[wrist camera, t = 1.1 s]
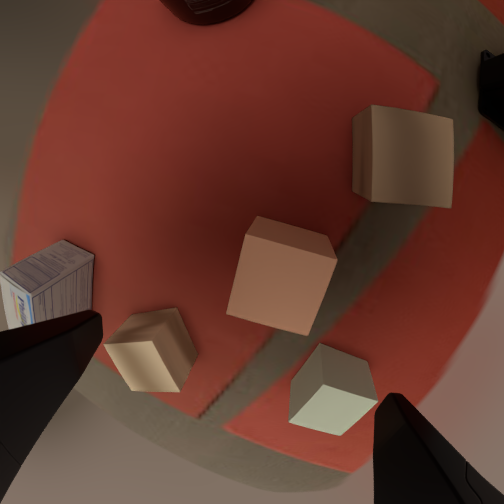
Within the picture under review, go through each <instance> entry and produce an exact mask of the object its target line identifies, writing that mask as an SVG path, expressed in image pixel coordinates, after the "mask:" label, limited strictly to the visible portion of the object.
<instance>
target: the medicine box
mask: <svg viewBox="0 0 504 504" xmlns="http://www.w3.org/2000/svg"><path fill="white" fill-rule="evenodd" d="M93 261H94V255H93V254H91V253H89V252H87V251H85V250H83V249H81V248H79V247H77V246H75V245H73V244H71V243H69V242H67V241H65V240H61V241H59V242H57V243H55V244H53V245H51V246H49V247H47V248H45V249H43V250H41V251H39V252H37V253H35V254H33V255H31V256H29V257H27V258H25V259H23V260H21V261H19V262H17V263H16V264H14V265H12V266H10V267H8V268H6V269H5V270H3V271H1V272H0V283H1V290H2V296H3V303H4V308H5V313H6V318H7V323H8V327H9V329H13V328H17V327H21V326H25V325H29V324H33V323H37V322H41V321H45V320H49V319H53V318H57V317H61V316H65V315H69V314H73V313H77V312H81V311H84V310H88V309H90V310H91V306H92V277H93Z"/></svg>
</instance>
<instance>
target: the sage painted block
mask: <svg viewBox="0 0 504 504" xmlns="http://www.w3.org/2000/svg"><path fill="white" fill-rule="evenodd" d="M377 402H378V399H377V395H376V391H375V387H374V383H373V380H372V376H371V372H370V369H369V365H368V362H367V361H365V360H363V359H360V358H357V357H355V356H352V355H349V354H347V353H344V352H342V351H339V350H336V349H334V348H331V347H329V346H326V345H324V344H321V343H319V345H318V346H317V347H316V349H315V350H314V351H313V353H312V354H311V356H310V357H309V358H308V360H307V361H306V362H305V364H304V365H303V366H302V367H301V369H300V370H299V371H298V373H297V374H296V375H295V377H294V378H293V379H292V380H291V388H290V405H289V419H288V422H290V423H293V424H296V425H300V426H303V427H307V428H311V429H314V430H318V431H322V432H326V433H330V434H334V435H339V436H341V435H342V434H343V433H344V432H345V431H346V430H348V429H349V428H350V427H351V426H352V425H353V424H354V423H356V422H357V421H358V420H359V419H360V418H361V417H362V416H363V415H364V414H365V413H367V412H368V411H369V410H370V409H371V408H372V407H373V406H374V405H375V404H376V403H377Z"/></svg>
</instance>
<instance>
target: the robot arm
mask: <svg viewBox="0 0 504 504" xmlns="http://www.w3.org/2000/svg"><path fill="white" fill-rule="evenodd" d="M487 56H488V57H487ZM484 108H485V111H484ZM479 111H480V113H481V114H482V115H483V116H485V117H486V118H488V119H489V120H490V121H492V122H493V123H495V124H496V125H497V126H499V127H500V128H501V129H503V130H504V53H503V54H501V55H498V56H494V55H493V54H492V53H490V52H489V51H488V50H484V51H482V60H481V77H480V99H479ZM102 339H103V326H102V316H101V314H99V313H98V312H95V311H93V310H90V309H88V310H84V311H81V312H77V313H73V314H69V315H65V316H61V317H57V318H53V319H49V320H45V321H41V322H37V323H33V324H29V325H25V326H21V327H17V328H13V329H9V330H5V331H1V332H0V503H1V501H2V499H3V497H4V496H5V494H6V492H7V490H8V488H9V487H10V485H11V483H12V481H13V480H14V478H15V476H16V474H17V473H18V471H19V469H20V467H21V465H22V464H23V462H24V460H25V459H26V457H27V456H28V454H29V452H30V451H31V449H32V448H33V446H34V445H35V443H36V441H37V440H38V438H39V437H40V435H41V433H42V432H43V431H44V429H45V428H46V426H47V424H48V423H49V422H50V420H51V419H52V417H53V416H54V414H55V413H56V411H57V410H58V408H59V407H60V405H61V404H62V403H63V401H64V400H65V398H66V397H67V396H68V394H69V393H70V391H71V390H72V388H73V387H74V386H75V384H76V383H77V382H78V380H79V379H80V377H81V376H82V374H83V372H84V371H85V369H86V367H87V365H88V364H89V362H90V360H91V358H92V357H93V355H94V353H95V352H96V350H97V348H98V346H99V345H100V343H101V341H102ZM373 469H374V504H504V495H503V494H502V493H501V492H500V491H498V490H497V489H496V488H495V487H494V486H493V485H491V484H490V483H489V482H488V481H487V480H486V479H485V478H483V477H482V476H481V475H480V474H479V473H478V472H477V471H476V470H475V469H474V468H473V467H472V466H471V465H470V464H469V462H467V461H466V459H465V458H464V457H463V456H462V455H461V454H460V453H459V452H458V451H457V450H456V449H455V448H454V447H453V446H452V445H451V444H450V443H449V442H448V441H447V440H446V439H445V438H444V437H443V436H442V435H441V434H440V433H439V432H438V431H437V430H436V428H434V426H433V425H432V424H431V423H430V422H429V421H428V420H427V419H426V418H425V417H424V416H423V415H422V414H421V413H420V412H419V411H418V410H417V409H416V408H415V407H414V406H413V405H412V404H411V403H410V402H409V401H408V400H407V399H406V398H405V397H404V396H403V395H402V394H400V393H389V394H388V395H387V396H386V397H385V399H384V400H383V401H382V403H381V404H380V405H379V407H378V408H377V410H376V412H375V417H374V444H373Z"/></svg>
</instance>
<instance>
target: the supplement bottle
mask: <svg viewBox="0 0 504 504" xmlns="http://www.w3.org/2000/svg"><path fill="white" fill-rule="evenodd" d="M160 1H161V2H162V3H163V4H164V5H165V6H166V7H167V8H168V9H169V10H170V11H171V12H172V13H173V14H174V15H175V16H176V17H178V18H179V19H181V20H183V21H185V22H189V23H194V24H209V23H215V22H219V21H223V20H225V19H228V18H230V17H232V16H234V15H236V14H238V13H239V12H241V11H242V10H243V9H244V8H246V7H247V6H248V5H249V3H250V2H251V1H252V0H160Z"/></svg>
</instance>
